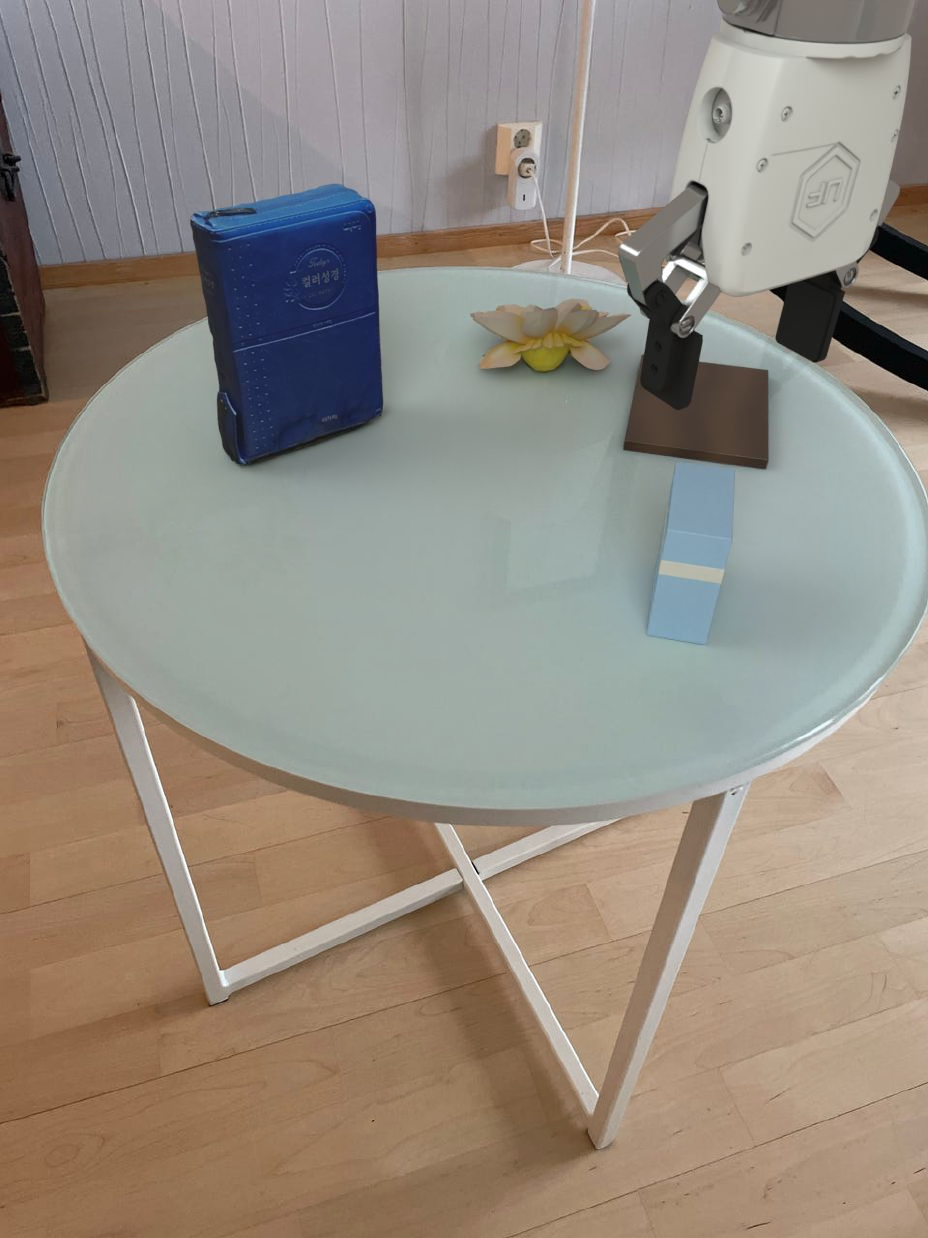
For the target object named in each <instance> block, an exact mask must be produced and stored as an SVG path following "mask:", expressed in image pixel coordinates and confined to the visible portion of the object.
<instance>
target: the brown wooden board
mask: <svg viewBox="0 0 928 1238" xmlns="http://www.w3.org/2000/svg"><path fill="white" fill-rule="evenodd" d="M643 358H644V354H641V355H640V361H639V365H638V372H637V375H636V381H635V386H634V391H633V396H632V402H631V406H630V411H629V412H630V413H629V416H628V421H627V426H626V431H625V435H624V442H623V450H624V451H630V452H638V453H644V454H645V453H646V454H652V455H659V456H667V457H674V458H682V459H689V460H695V461H696V460H697V461H703V462H710V463H718V464H723V465H724V464H726V465H732V466H739V467H745V468H754V469H762V470H767V467H768V464H769V460H770V459H769V457H770V454H769V451H770V450H769V448H770V446H769V443H770V442H769V441H770V439H769V438H770V437H769V435H770V434H769V433H770V432H769V428H770V427H769V425H770V424H769V369H763V368H756V367H755V368H754V367H746V366H740V365H731V364H722V363H714V362H706V361H699V364H698V369H697V374H696V379H695V384H694V389H693V394H692V399H691V402H690V404H689V406H688V407H687V408H684V409H681V410H676V409H674V408H673V407H671V406H670V405H668V404H666V403H665V402H663V401H662V400H660V399H659V398H657V397H656V396H654V395H653V394H651V393H650V392H648V391H647V390H645V389H644V388H643V387H642V386H641V383H640V377H641V370H642V364H643Z"/></svg>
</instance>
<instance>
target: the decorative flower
mask: <svg viewBox="0 0 928 1238" xmlns="http://www.w3.org/2000/svg"><path fill="white" fill-rule="evenodd" d="M469 315H470V317H471V318H472V320H473V321H474V322H475V323H476V324H478V325H480V326H481V327H483V328H484V329H485V330H487V331H489V332H491V333H492V334H494V335H496V336H497V337H500V338H502V339H505V341H502V342H501V343H499V344H496V345H495V346H494V347H492V348H490V349H489V350H487V352H485V353H484V354H482V359H481V360H480V361H479V363H478V367H479V369H481V370H482V369H484V370H485V369H495V368H505V367H506V368H507V367H512V366H514V365H515V364H517V363H518V362H519V361H520V360H521V358H522V359H523V360H524V362H525V363H526V364H527V365H528V366H529V367H530V368H532V369H533V370H534V371H536V372H544V373H546V372H549V371H554V370H555V369H557V368H558V367H559V366H560V365H561V364H562V363H563V362H564V360H565V359H566V357H567V356H568V355H570V356H572V357H573V358H574V360H576V361H577V362H578V363H579V364H581V365H582V366H584V367H586V369H590V370H594V371H599V370H604V369H605V368H606V367H608V365H609V364H611V359H610V358H609V357H608V356H607V355H606V354H605V353H604V352H602V350H601V349H600V348H598V347H596V346H595V345H593V344H592V343H590V342H589V341H588V340H590V339H593V338H596V337H599V336H600V335H602V334H605V333H606V332H608V331H610V330H612V329H613V328H615V327H617V326H618V325H619V324H621V323H622V322H623V321H625V320H627V319H628V318H629V317H631V316H632V314H631V313H626V312H621V313H617V314H613V315H610V312H607V311H601V310H600V311H598V310H597V309H594V307H593V306H591V305H590V306H589V300H587V299H581V298H580V299H579V298H570V299H566V300H563V301H562V302H560V303H559V304H557V305H556V306H554V307H553V306H552V307H549V308H542V307H540V306H538V305H535V304H528V305H526V306H525V307H523V306H522V305H521V306H520V305H518V304H514V303H513V304H501V305H498V306H497V307H496V309H495V310H489V311H488V310H487V311H485V312H483V311H476V312H472V313H469ZM608 315H610V316H608Z"/></svg>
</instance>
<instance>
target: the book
mask: <svg viewBox="0 0 928 1238" xmlns="http://www.w3.org/2000/svg"><path fill="white" fill-rule="evenodd" d="M376 212H377V211H376V207H375V205H374V203H373V202H372V201H371V199H369V198H368V197H363V196H362V195H360V193H359V192H358V191H357V190H354V189H353V188H349V187H347V186H345V185H344V184H341V183H329V184H323V185H319V186H318V187H316V188H311V189H307V190H304V191H301V192H296V193H289V194H283V195H280V196H276V197H273V198H267V199H260V200H257V201H254V202H250V203H249V202H248V203H240V204H237V205H234V206H233V205H232V206H226V207H220V208H215V209H211V210H200V211H195V212H193V213H192V215H190V220H189V221H190V223H189V225H190V228H191V231H192V241H193V245H194V249H195V254H196V260H197V264H198V265H197V266H198V272H199V276H200V283H201V291H202V295H203V299H204V303H205V310H206V316H207V325H208V328H209V333H210V334H211V336H212V349H213V359H214V364H215V368H216V372H217V381H218V391H217V393H216V394H217V395H216V413H217V426H218V432H219V434H220V438H221V446H222V449H223V451H224V453H226V455H227V456H228V457H229V459H230V460H231V462H234V463H235V464H236V465H239V466H243V465H251V464H255V463H259V462H261V461H265V460H268V459H271V458H273V457H277V456H280V455H283V454H284V455H285V454H286V453H290V452H293V451H296V450H299V449H303V448H306V447H311V446H313V445H316V444H318V443H320V442H321V443H322V442H323V441H325V440H328V439H331V438H333V437H336V436H339V435H342V434H344V433H348V432H351V431H354V430H356V429H358V428H361V427H363V426H364V425H366V424H367V423H369V422H371V421H372V420H375V419H378V418H380V417H382V413H383V408H384V392H383V391H384V390H383V389H384V388H383V372H382V350H381V349H382V348H381V326H380V325H381V324H380V299H379V298H380V294H379V293H380V292H379V279H378V244H377V243H378V242H377V213H376Z"/></svg>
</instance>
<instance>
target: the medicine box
mask: <svg viewBox="0 0 928 1238" xmlns="http://www.w3.org/2000/svg"><path fill="white" fill-rule="evenodd" d="M735 484H736V469H734V468H727V467H719V466H713V465H705V464H698V463H692V462H684V461H675V463H674V469H673V473H672V478H671V484H670V489H669V492H668V497H667V503H666V510H665V515H664V519H663V525H662V530H661V535H660V540H659V545H658V551H657V557H656V560H655V561H656V562H655V567H654V568H655V569H654V576H653V584H652V591H651V597H650V598H651V599H650V605H649V612H648V613H649V614H648V621H647V628H646V636H649V637H656V638H662V639H667V640H672V641H673V640H674V641H680V642H686V643H691V644H696V645H697V644H699V645H704V646H706V645H707V642H708V638H709V633H710V630H711V626H712V621H713V618H714V614H715V609H716V606H717V601H718V598H719V594H720V590H721V587H722V583H723V579H724V576H725V572H726V566H727V562H728V558H729V554H730V550H731V547H732V543H733V533H734V531H733V530H734V511H735V486H736V485H735Z"/></svg>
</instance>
